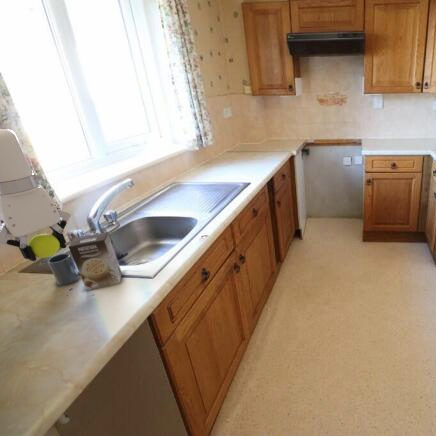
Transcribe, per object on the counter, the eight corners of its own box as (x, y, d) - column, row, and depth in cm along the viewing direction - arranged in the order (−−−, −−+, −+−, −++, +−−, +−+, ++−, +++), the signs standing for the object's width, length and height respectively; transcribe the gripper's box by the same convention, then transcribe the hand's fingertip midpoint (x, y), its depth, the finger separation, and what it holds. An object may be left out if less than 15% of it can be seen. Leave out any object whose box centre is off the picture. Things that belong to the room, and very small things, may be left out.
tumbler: (65, 289, 100) (54, 264, 96) (55, 285, 102) (43, 261, 98) (84, 279, 104) (73, 255, 101) (73, 275, 106) (63, 252, 103)
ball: (41, 264, 78) (31, 242, 75) (28, 259, 80) (18, 238, 78) (68, 252, 83) (59, 232, 80) (55, 248, 85) (46, 228, 83)
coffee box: (86, 293, 97) (66, 247, 91) (91, 281, 103) (72, 237, 96) (120, 285, 101) (103, 239, 94) (123, 274, 106) (107, 231, 99)
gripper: (49, 173, 82) (75, 235, 90) (-43, 196, 68) (-3, 267, 76) (66, 176, 79) (91, 240, 87) (-28, 200, 65) (13, 274, 73)
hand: (47, 252), depth 81 cm, fingers closed on ball, 5 cm apart
